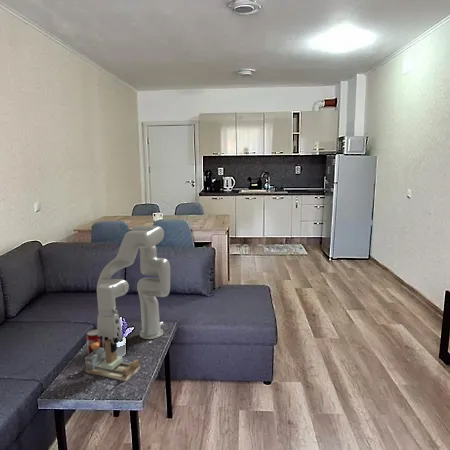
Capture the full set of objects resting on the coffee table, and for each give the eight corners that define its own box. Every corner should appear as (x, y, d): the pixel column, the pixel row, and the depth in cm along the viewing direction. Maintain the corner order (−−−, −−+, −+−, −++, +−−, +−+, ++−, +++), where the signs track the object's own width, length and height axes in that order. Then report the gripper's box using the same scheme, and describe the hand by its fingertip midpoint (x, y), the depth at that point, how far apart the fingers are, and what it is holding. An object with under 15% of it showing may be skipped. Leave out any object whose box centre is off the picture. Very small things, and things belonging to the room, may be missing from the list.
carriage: (112, 359, 185) (110, 334, 183) (122, 361, 183) (120, 336, 181) (100, 367, 178) (98, 342, 176) (111, 370, 176) (109, 344, 174)
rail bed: (101, 360, 190) (100, 346, 189) (140, 368, 181) (139, 354, 180) (85, 372, 180) (84, 357, 179) (125, 381, 171) (124, 365, 170)
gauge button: (95, 351, 185) (94, 341, 185) (101, 352, 184) (100, 342, 183) (90, 354, 182) (89, 345, 181) (96, 355, 181) (95, 346, 180)
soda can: (99, 359, 191) (97, 336, 189) (85, 358, 193) (83, 335, 191) (106, 352, 198) (104, 329, 196) (93, 351, 200) (91, 328, 198)
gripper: (128, 310, 177) (131, 349, 180) (98, 306, 183) (101, 344, 186) (117, 317, 170) (120, 357, 173) (86, 312, 176) (90, 351, 179)
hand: (110, 350), depth 179 cm, fingers closed on carriage, 3 cm apart
